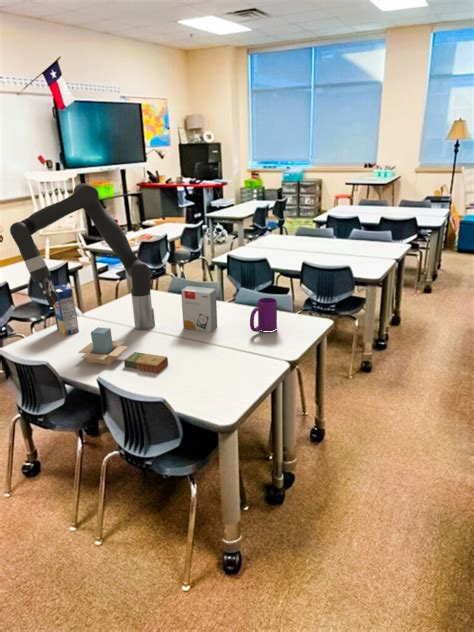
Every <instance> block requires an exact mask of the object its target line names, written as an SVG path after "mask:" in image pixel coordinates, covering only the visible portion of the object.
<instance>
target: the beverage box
mask: <svg viewBox="0 0 474 632" xmlns="http://www.w3.org/2000/svg"><path fill="white" fill-rule="evenodd" d="M54 287H55V288H56V294H57V297H58V299H59V301H58V302H55V304H54V305H52V307H53V312H54V318H55V323H56V329H57V330H58V332H60V333H61V334H63V335H64V336H69V335H72V334H77V333H79V332H80V329H79V323H78V317H77V311H76V310H77V309H76V304H75V298H74V290H73V288H71V287H70V286H68V285H66V284H58V285H54ZM51 295H52V294H51ZM76 332H77V333H76Z"/></svg>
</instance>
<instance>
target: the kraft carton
mask: <svg viewBox="0 0 474 632" xmlns="http://www.w3.org/2000/svg"><path fill="white" fill-rule="evenodd" d="M112 343H113V351H112V352H111V353H110V354H109V355H102V354H94V350H93V344H92V342H90V343H88V344H87V345H86V346H85V347H83V348H82V349H80V350H78V354H83V355H82V356H81V359H87V363H90V364H99V365H100V364H101V365H111V364H112V363H113V362H114V361H116V360H117V359H118V358H120V356H122V354H123V352H124V351H126V350H127V349H128V348H129V346H128V345H127V346H126V345H124V343H125V341H118V340H112Z"/></svg>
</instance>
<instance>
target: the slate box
mask: <svg viewBox="0 0 474 632" xmlns="http://www.w3.org/2000/svg"><path fill="white" fill-rule="evenodd" d="M90 335H91V337H90V338H91V343H92V344H93V350H94V354H102V355H109V354H110V353H111V352H112V351H113V343H112V341H113V337H112V330H111V328H109V327H96V328H95V329H93V330H92V331H91V332H90Z"/></svg>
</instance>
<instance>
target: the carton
mask: <svg viewBox="0 0 474 632" xmlns="http://www.w3.org/2000/svg"><path fill="white" fill-rule="evenodd" d="M168 360H169V359H168V357H167V356H163V355H162V356H161V355H158V354H157V355H156V354H150V353H149V354H148V353H143V352H137V351H134V352H133V353H131V354H130V355H129V356H128V357H126V358H125V359H124V361H123V363H124V367H125V368H130V369H135V370H136V369H137V370H139V371H141V372H146V373H152V374H158V375H159V374H160V373H161V372H162V371H163V370H164V369H165V368H167V367H168V366H169V361H168Z"/></svg>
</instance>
